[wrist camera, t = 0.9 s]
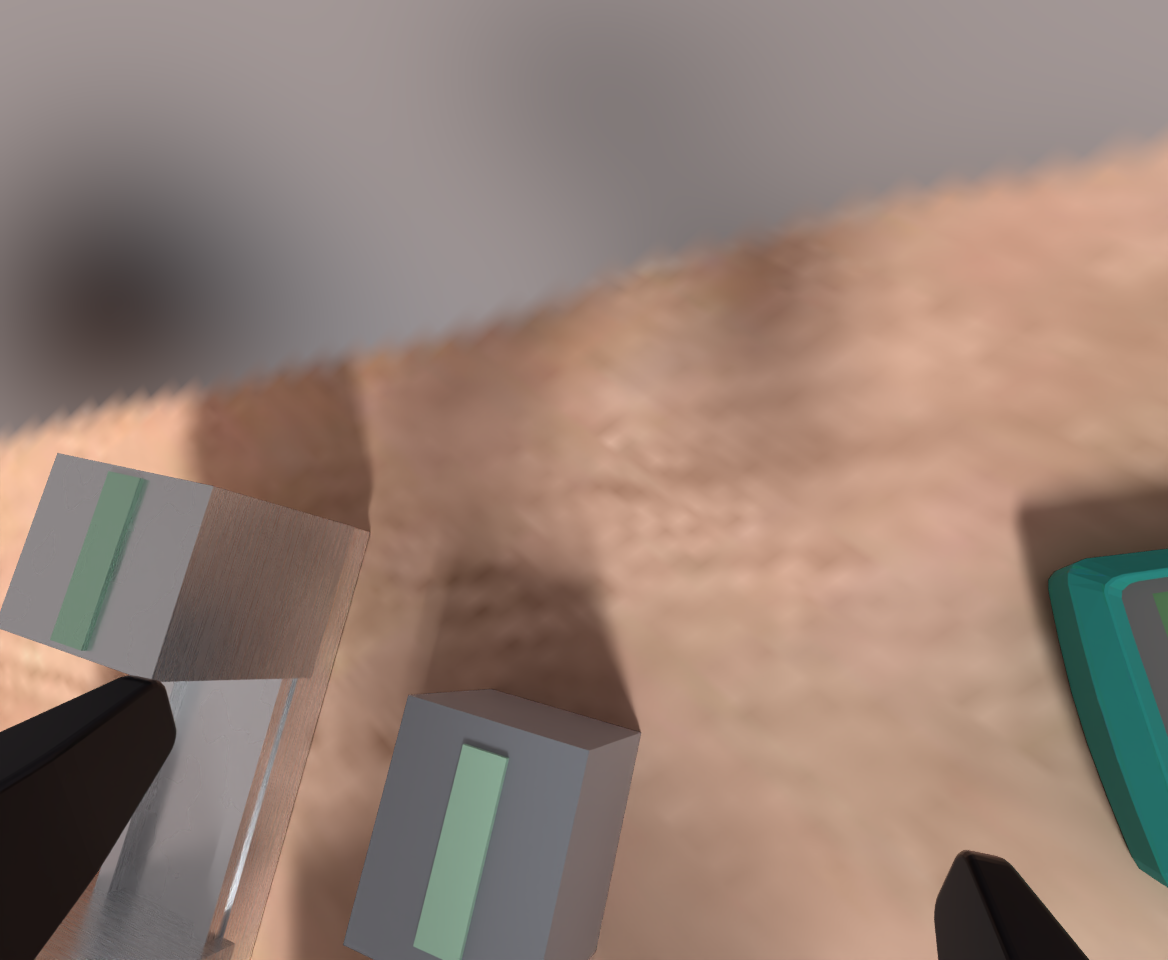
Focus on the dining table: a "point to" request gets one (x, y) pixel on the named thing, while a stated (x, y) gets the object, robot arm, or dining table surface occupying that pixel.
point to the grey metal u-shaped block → (190, 686)
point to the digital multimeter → (1122, 686)
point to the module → (493, 832)
